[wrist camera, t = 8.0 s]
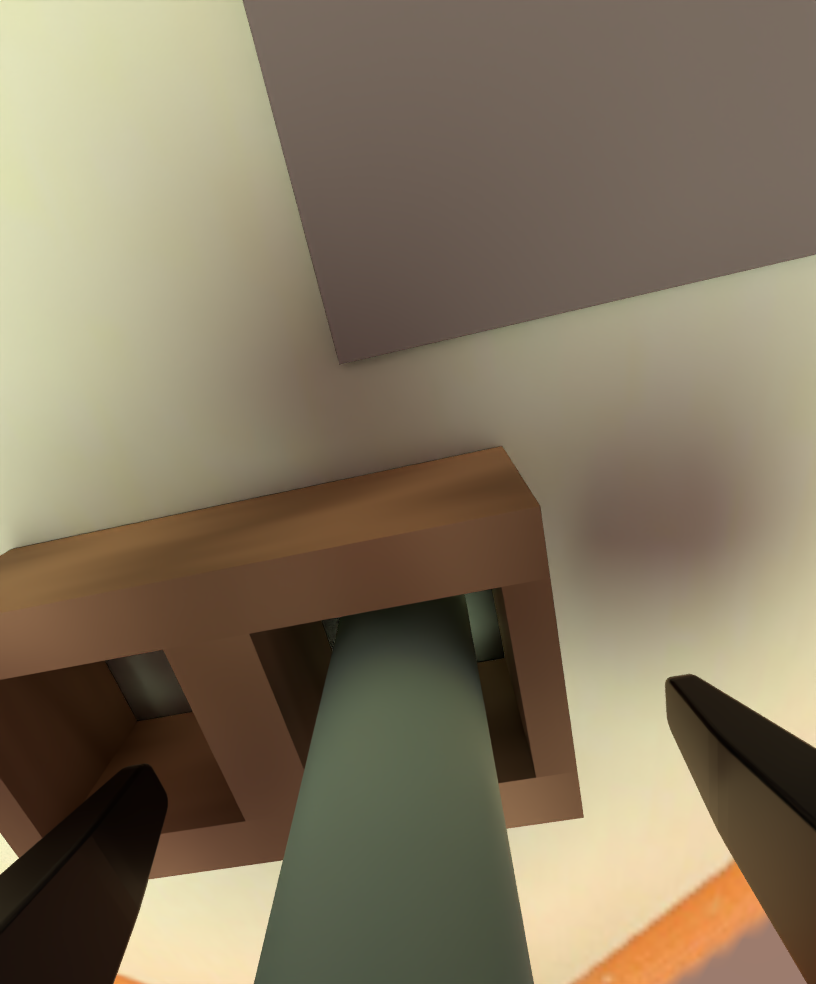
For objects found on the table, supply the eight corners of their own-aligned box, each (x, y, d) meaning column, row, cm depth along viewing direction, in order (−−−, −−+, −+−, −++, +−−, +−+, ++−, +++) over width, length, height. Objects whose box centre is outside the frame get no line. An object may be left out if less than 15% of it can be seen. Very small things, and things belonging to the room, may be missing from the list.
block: (502, 446, 11) (540, 506, 8) (541, 691, 13) (583, 817, 10) (11, 549, 12) (-142, 640, 9) (129, 759, 14) (45, 893, 11)
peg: (452, 538, 12) (553, 1131, 3) (474, 640, 13) (592, 1291, 4) (331, 561, 12) (135, 1168, 4) (362, 660, 13) (267, 1310, 5)
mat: (887, -287, 7) (906, -310, 7) (844, 245, 9) (858, 244, 9) (226, -75, 8) (219, -89, 8) (341, 363, 10) (339, 364, 10)
